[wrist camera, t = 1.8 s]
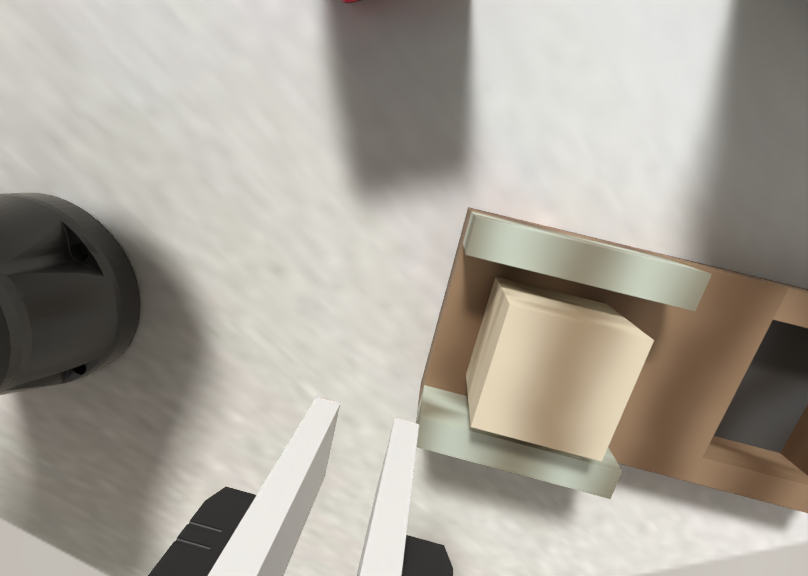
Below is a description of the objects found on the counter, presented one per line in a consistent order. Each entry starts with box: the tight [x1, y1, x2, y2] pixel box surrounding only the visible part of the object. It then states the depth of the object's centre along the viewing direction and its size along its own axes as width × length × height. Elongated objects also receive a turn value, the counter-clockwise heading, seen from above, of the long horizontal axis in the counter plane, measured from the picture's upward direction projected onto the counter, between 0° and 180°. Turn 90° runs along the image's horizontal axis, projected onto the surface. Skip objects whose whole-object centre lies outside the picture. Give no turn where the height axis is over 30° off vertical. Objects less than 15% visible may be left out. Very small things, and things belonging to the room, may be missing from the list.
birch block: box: [466, 277, 654, 461], centre depth 23 cm, size 7×7×6 cm
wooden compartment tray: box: [416, 207, 808, 513], centre depth 26 cm, size 29×14×8 cm, turn 77°
